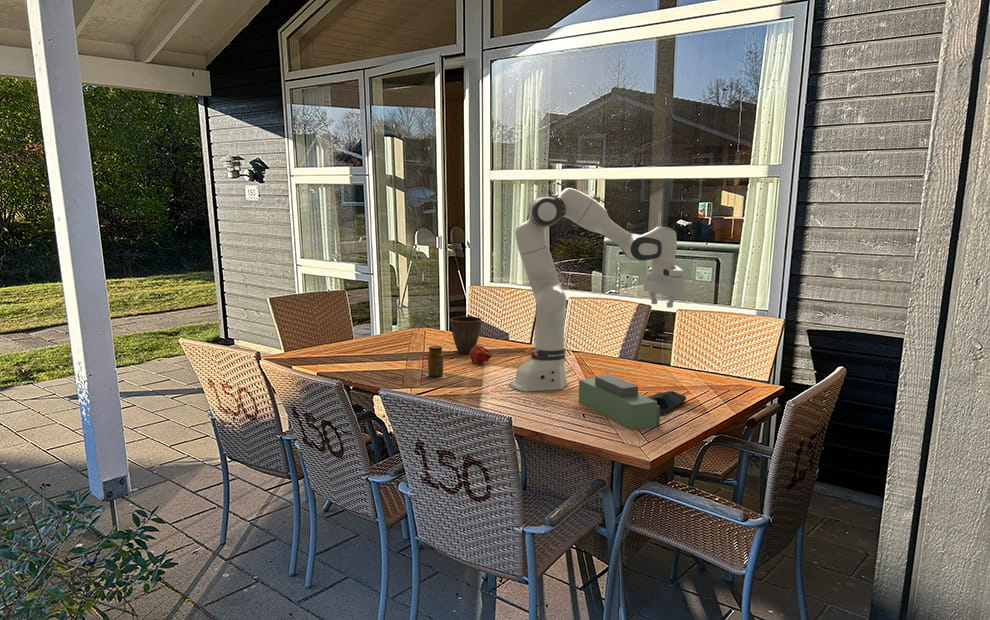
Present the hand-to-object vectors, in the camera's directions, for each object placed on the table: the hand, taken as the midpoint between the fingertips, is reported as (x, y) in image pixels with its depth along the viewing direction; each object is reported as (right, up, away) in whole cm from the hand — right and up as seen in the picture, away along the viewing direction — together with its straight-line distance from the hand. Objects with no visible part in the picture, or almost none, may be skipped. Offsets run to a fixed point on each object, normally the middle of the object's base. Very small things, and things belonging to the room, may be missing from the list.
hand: (661, 305), depth 245 cm
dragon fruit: (-70, -25, +38) cm, 84 cm away
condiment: (-88, -29, +15) cm, 94 cm away
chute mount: (-23, -36, -32) cm, 53 cm away
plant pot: (-78, -22, +59) cm, 100 cm away
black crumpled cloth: (-7, -35, -23) cm, 43 cm away
